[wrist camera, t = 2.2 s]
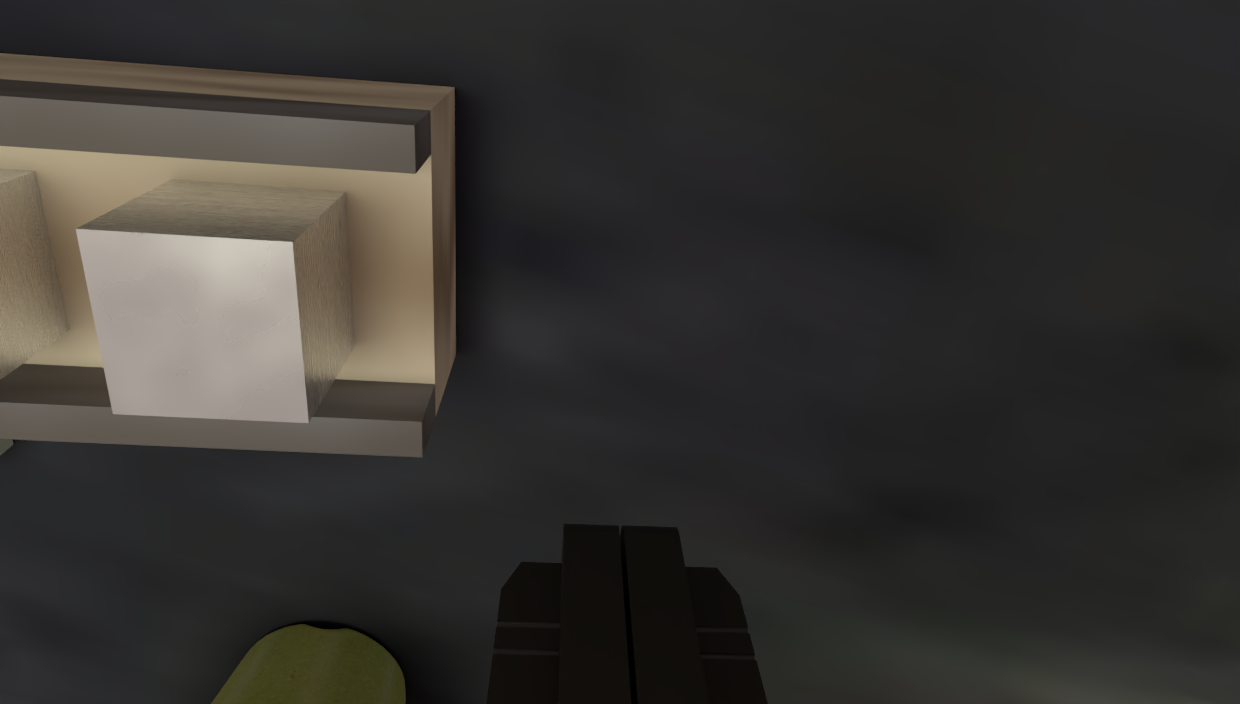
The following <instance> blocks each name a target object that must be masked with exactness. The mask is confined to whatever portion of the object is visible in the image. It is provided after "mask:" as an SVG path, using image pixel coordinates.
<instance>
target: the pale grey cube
mask: <svg viewBox="0 0 1240 704" xmlns="http://www.w3.org/2000/svg"><path fill="white" fill-rule="evenodd" d="M68 331H70V328H69V324H68V319H67V314H66V310H65V305H64V300H63V296H62V291H61V286H60V282H59V277H58V273H57V268H56V263H55V259H54V254H53V249H52V245H51V240H50V235H49V231H48V226H47V222H46V217H45V212H44V208H43V203H42V198H41V194H40V189H39V184H38V180H37V175H36V171H32V170H16V169H1V168H0V380H1V379H2V378H4V377H5V376H6V375H8V374H9V373H11V372H12V371H13V370H15V369H16V368H18V367H19V366H20V365H22V364H23V363H25V362H26V361H27V360H29V359H30V358H32V357H33V356H34V355H36V354H37V353H39V352H40V351H42V350H43V349H44V348H46V347H47V346H49V345H50V344H51V343H53V342H54V341H56V340H57V339H58V338H60V337H61V336H63V335H64V334H65V333H67V332H68Z"/></svg>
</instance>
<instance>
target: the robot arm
mask: <svg viewBox="0 0 1240 704" xmlns="http://www.w3.org/2000/svg"><path fill="white" fill-rule="evenodd" d="M754 655H755V653H754V649H753V645H752V642H751V638H750V634H749V633H748V626H747V622H746V618H745V615H744V611H743V607H742V603H741V599H740V595H739V594H738V593H737V592H736V591H735V589H734V588H733V587H732V586H731V585H730V583H729V582H728V581H727V580H726V578H725V577H724V576H723V575H722V574H721V572H720V571H719V570H718V569H717V568H706V567H685V564H684V559H683V553H682V547H681V542H680V536H679V531H678V529H677V527H650V526H622V528H621V534H620V536H619V527H618V526H615V525H586V524H564V527H563V544H562V562H561V563H537V562H521V563H520V564H519V566H518V567H517V569H516V570H515V571H514V573H513V574H512V575H511V577H510V578H509V579H508V581H507V582H506V583H505V585H504V586H503V587H502V589H501V596H500V604H499V611H498V619H497V627H496V635H495V643H494V653H493V658H492V666H491V674H490V682H489V689H488V697H487V704H768V703H767V700H766V696H765V692H764V688H763V684H762V680H761V676H760V672H759V669H758V665H757V661H755V658H754Z"/></svg>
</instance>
